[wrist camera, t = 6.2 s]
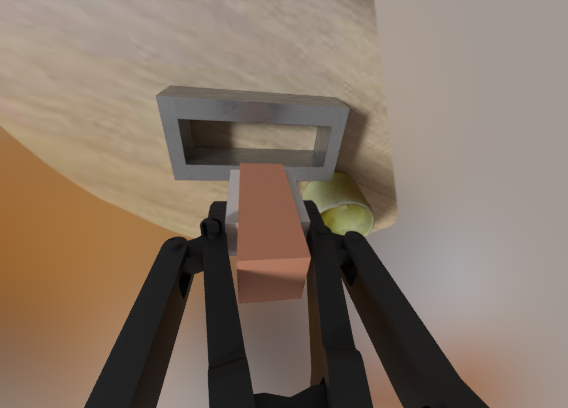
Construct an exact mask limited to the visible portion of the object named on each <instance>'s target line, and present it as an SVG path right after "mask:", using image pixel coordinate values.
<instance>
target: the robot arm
mask: <svg viewBox="0 0 568 408" xmlns="http://www.w3.org/2000/svg"><path fill="white" fill-rule="evenodd" d="M285 173H286V176H287V179H288V183H289V186H290V189H291V193H292V196H293V199H294V203H295V206H296V209H297V213H298V216H299V219H300V223H301V226H302V229H303V233H304V236H305V239H306V243H307V246H308V249H309V253H310V256H311V259H310V263H309V268H308V272H307V295H308V313H309V333H310V352H311V380H310V381H311V382H310V387H309V388H308V389H305V390H303V391H302V392H300V393H298V394H296V395H294V396H292V397H285V396H279V395H274V394H268V393H259V394H253V390H252V384H251V378H250V372H249V367H248V361H247V357H246V354H245V348H244V342H243V336H242V330H241V325H240V319H239V313H238V307H237V301H236V295H235V289H234V283H233V278H232V271H231V266H230V260H229V256H237V236H238V208H239V179H240V170H230V180H229V189H228V199H227V201H214V202H213V203H212V204H211V206H210V210H209V216H208V218H206V219H204V220H203V221H202V222H201V224H200V229H201V236H200V237H198V238H196V239H192V240H189V241H187V240H186V239H185V238H184V237H173V238H170V239H168V240H167V241H165V243H164V244H163V245H162V247H161V249H160V251H159V254H158V255H157V258H156V260H155V262H154V264H153V266H152V268H151V270H150V272H149V274H148V276H147V278H146V280H145V282H144V284H143V287H142V289H141V291H140V293H139V295H138V297H137V299H136V301H135V303H134V305H133V307H132V309H131V311H130V313H129V316H128V318H127V320H126V322H125V324H124V326H123V328H122V330H121V332H120V334H119V336H118V338H117V340H116V343H115V345H114V347H113V349H112V351H111V353H110V355H109V357H108V359H107V361H106V363H105V366H104V367H103V369H102V372H101V374H100V376H99V378H98V380H97V382H96V384H95V386H94V388H93V390H92V392H91V394H90V397H89V399H88V401H87V403H86V405H85V407H84V408H156V406H157V403H158V400H159V396H160V393H161V389H162V386H163V382H164V379H165V375H166V372H167V368H168V364H169V361H170V358H171V354H172V351H173V347H174V344H175V340H176V337H177V333H178V330H179V326H180V323H181V319H182V316H183V312H184V309H185V306H186V302H187V298H188V295H189V292H190V288H191V285H192V281H193V277H194V274H196V273H199V272H202V271H204V287H205V305H206V325H207V343H208V361H209V369H208V389H209V408H373V405H372V400H371V395H370V390H369V386H368V381H367V377H366V372H365V367H364V363H363V359H362V356H361V354H360V352H359V351H358V350H356V348H355V345H354V340H353V335H352V330H351V325H350V320H349V315H348V310H347V305H346V300H345V295H344V290H343V285H342V280H343V282H344V284H345V286H346V288H347V290H348V293H349V295H350V297H351V299H352V301H353V303H354V305H355V308H356V310H357V312H358V313H359V316H360V318H361V320H362V322H363V324H364V327H365V329H366V331H367V333H368V335H369V337H370V339H371V341H372V343H373V345H374V348H375V350H376V352H377V354H378V356H379V358H380V360H381V362H382V365H383V367H384V369H385V371H386V373H387V375H388V377H389V380H390V381H391V384H392V386H393V388H394V390H395V392H396V394H397V396H398V398H399V400H400V402H401V403H402V406H403V407H404V408H489V407H488V406H487V405H486V404H485V403H484V402H483V401H482V400H481V399H480V398H479V397H478V396H477V395H476V394H475V393H474V392H473V391H472V390H471V388H470V387H468V386H467V384H465V383H464V381H463V380H462V379H460V377H459V375H458V374H457V372H456V371H455V370H454V368H453V366H452V365H451V363H450V362H449V360H448V359H447V358H446V356H445V355H444V353H443V352H442V350H441V349H440V347H439V346H438V344H437V343H436V341H435V340H434V338H433V337H432V336H431V334H430V333H429V331H428V330H427V328H426V327H425V325H424V324H423V322H422V321H421V319H420V318H419V316H418V315H417V313H416V312H415V311H414V309H413V308H412V306H411V305H410V303H409V302H408V300H407V299H406V297H405V296H404V294H403V293H402V292H401V290H400V289H399V287H398V286H397V284H396V283H395V281H394V280H393V278H392V277H391V275H390V274H389V272H388V271H387V269H386V268H385V267H384V265H383V264H382V262H381V261H380V259H379V258H378V256H377V255H376V253H375V252H374V250H373V249H372V247H371V246H370V244H368V242H367V240H366V239H365V237H364V236H363V235H362V234H360V233H359V232H356V231H347V232H346V233H345V235H340V234H336V233H333V232H332V231H331V229H330V228H329V227H327V226H325V224H324V222H323V219H322V217H321V215H320V212H319V210H318V208H317V205H316V204H315V203H314V202H313V201H312V200H302V197H301V194H300V191H299V188H298V186H297V183H296V180H295V177H294V174H293V171H288V170H285ZM341 278H342V280H341Z"/></svg>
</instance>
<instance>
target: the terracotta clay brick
mask: <svg viewBox="0 0 568 408" xmlns="http://www.w3.org/2000/svg"><path fill="white" fill-rule="evenodd" d="M310 259H311V256H310V253H309V249H308V246H307V243H306V239H305V236H304V233H303V229H302V226H301V223H300V219H299V216H298V213H297V209H296V206H295V203H294V199H293V196H292V193H291V189H290V186H289V183H288V179H287V176H286V173H285V170H284V166H283V164H262V163H240V179H239V208H238V236H237V277H238V299H239V303H249V302H262V301H274V300H287V299H299V298H301V297H302V292H303V288H304V284H305V280H306V276H307V272H308V268H309V263H310Z"/></svg>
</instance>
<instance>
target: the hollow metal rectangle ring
mask: <svg viewBox="0 0 568 408" xmlns="http://www.w3.org/2000/svg"><path fill="white" fill-rule="evenodd" d="M156 99H157V103H158V107H159V112H160V116H161V121H162V125H163V129H164V134H165V138H166V143H167V147H168V152H169V156H170V160H171V165H172V169H173V174H174V178H175V180H218V181H229V180H230V170H240V163H262V164H283V166H284V170H288V171H293V174H294V177H295V180H296V181H332V178H333V174H334V170H335V166H336V162H337V158H338V154H339V150H340V146H341V142H342V138H343V134H344V130H345V126H346V122H347V118H348V114H349V110H350V108H349V107H348V106H346V105H345V104H343V103H342V102H341V101H339V100H338V99H336V98H335V97H322V96H308V95H294V94H280V93H266V92H252V91H238V90H225V89H211V88H197V87H183V86H169V87H167V88H166V89H164V90H163V91H162V92H160V93H159V94H157V95H156ZM190 119H193V120H213V121H233V122H253V123H273V124H293V125H313V126H318V129H317V135H316V140H315V146H314V151H310V150H278V149H246V148H214V147H194V144H193V138H192V131H191V125H190Z"/></svg>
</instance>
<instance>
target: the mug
mask: <svg viewBox="0 0 568 408" xmlns="http://www.w3.org/2000/svg"><path fill="white" fill-rule="evenodd" d="M302 200H312V201H313V202H314V203H315V204H316V205H317V208H318V210H319V212H320V215H321V217H322V219H323V222H324V224H325V226H327V227H329V228H330V229H331V231H332V232H333V233H336V234H340V235H345V233H346V232H347V231H356V232H359V233H360V234H362V235H363V236H364V237H365V236H367V235H368V234H369V233H370V232H371V231H372V229H373V226H374V213H373V211H372V209H371V207H370V205H369V203H368V202H367V200H366V198H365V197H364V195H363V194H362V192H361V191H360V189H359V187H358V185H357V184H356V182H355V181H354V179H353V178H352V177H350V176H349V175H347V174H345V173H342V172H338V171H334V174H333V178H332V181H310V182H309V183H308V184H307V186H306V188H305V190H304V193H303V198H302Z"/></svg>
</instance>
